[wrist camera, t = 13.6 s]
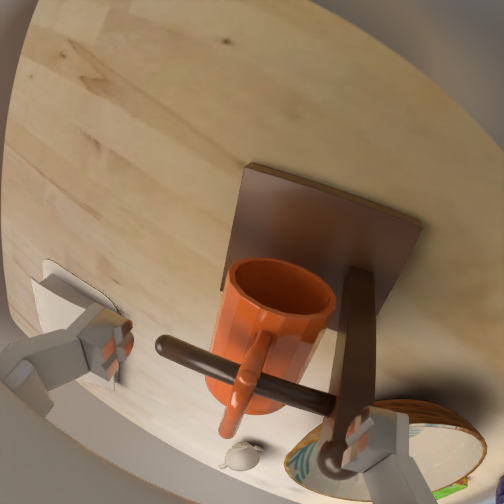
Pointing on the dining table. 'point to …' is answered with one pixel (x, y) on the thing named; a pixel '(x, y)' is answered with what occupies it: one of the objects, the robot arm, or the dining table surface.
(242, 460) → the cream rounded piece
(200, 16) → the dining table surface
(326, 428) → the stand
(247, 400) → the cup
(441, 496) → the game box
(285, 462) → the bowl
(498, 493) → the planter
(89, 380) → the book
